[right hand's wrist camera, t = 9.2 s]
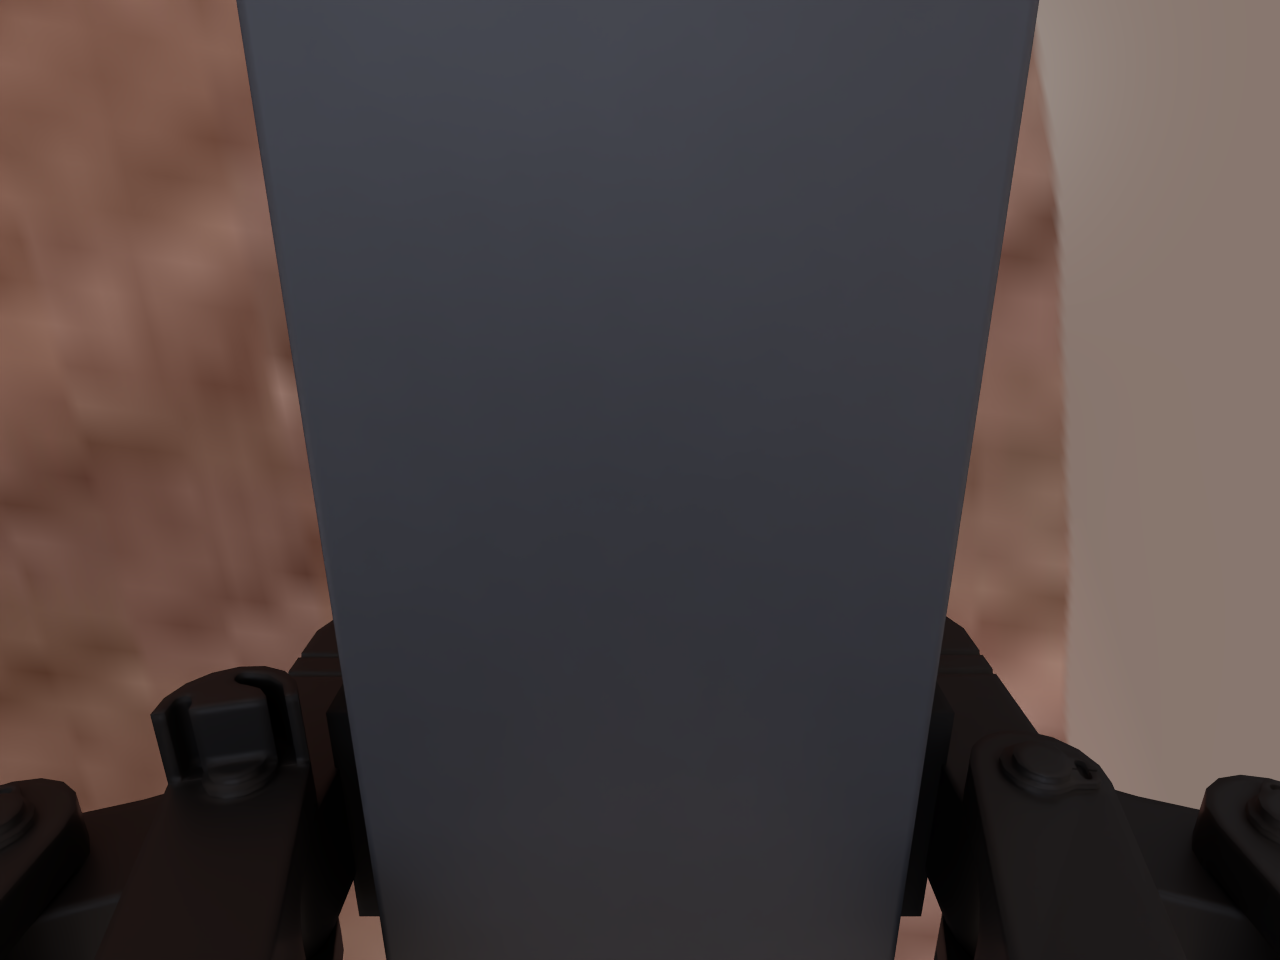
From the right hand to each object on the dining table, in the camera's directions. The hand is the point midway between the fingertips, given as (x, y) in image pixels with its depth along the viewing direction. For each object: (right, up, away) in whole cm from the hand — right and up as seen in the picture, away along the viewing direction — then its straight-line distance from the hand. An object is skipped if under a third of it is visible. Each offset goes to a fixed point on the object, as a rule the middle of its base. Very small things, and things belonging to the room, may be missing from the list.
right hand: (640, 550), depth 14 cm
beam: (0, -18, +8) cm, 20 cm away
